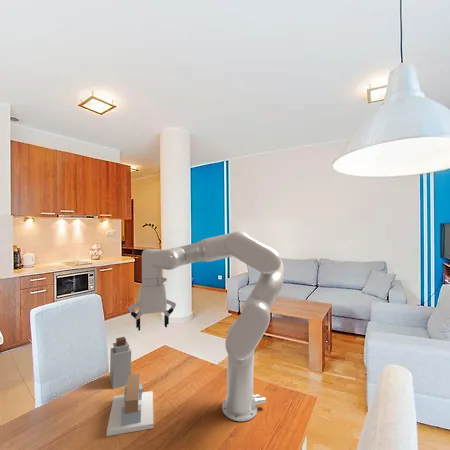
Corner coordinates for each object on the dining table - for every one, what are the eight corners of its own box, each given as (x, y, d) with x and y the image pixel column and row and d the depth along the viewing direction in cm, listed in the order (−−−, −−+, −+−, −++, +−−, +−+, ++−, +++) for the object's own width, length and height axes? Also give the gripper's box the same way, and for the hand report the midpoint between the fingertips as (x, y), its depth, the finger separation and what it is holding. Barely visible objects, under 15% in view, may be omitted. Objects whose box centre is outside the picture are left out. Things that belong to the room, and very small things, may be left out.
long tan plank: (139, 384, 103) (139, 373, 103) (137, 411, 87) (138, 399, 87) (128, 385, 102) (128, 374, 102) (124, 414, 86) (124, 401, 86)
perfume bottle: (126, 376, 118) (127, 334, 118) (130, 383, 112) (131, 340, 113) (109, 380, 114) (110, 337, 115) (113, 388, 109) (114, 343, 109)
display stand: (152, 394, 105) (153, 380, 105) (153, 428, 88) (153, 411, 88) (113, 400, 102) (114, 385, 102) (106, 436, 84) (107, 418, 84)
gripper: (174, 278, 109) (174, 322, 108) (128, 281, 103) (128, 327, 103) (176, 282, 101) (177, 328, 101) (127, 285, 96) (127, 334, 96)
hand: (152, 327), depth 102 cm, fingers open, 9 cm apart
